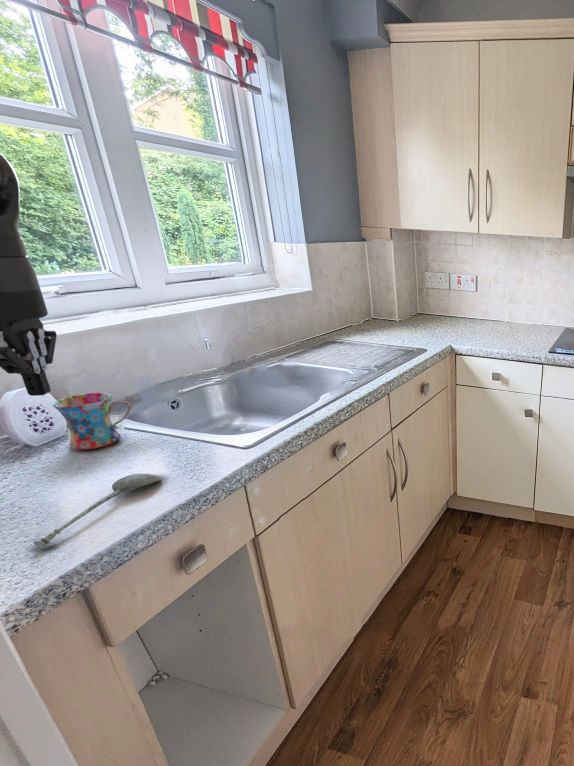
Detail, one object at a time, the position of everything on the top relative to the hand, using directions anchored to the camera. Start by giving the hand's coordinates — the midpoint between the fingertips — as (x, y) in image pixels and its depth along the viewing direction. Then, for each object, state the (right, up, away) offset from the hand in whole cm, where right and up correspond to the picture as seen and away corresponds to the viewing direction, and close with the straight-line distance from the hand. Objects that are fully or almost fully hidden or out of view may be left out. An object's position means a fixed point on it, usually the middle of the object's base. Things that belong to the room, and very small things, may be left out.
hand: (40, 394), depth 75 cm
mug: (-16, -11, +28) cm, 34 cm away
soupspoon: (+6, -20, +5) cm, 22 cm away
